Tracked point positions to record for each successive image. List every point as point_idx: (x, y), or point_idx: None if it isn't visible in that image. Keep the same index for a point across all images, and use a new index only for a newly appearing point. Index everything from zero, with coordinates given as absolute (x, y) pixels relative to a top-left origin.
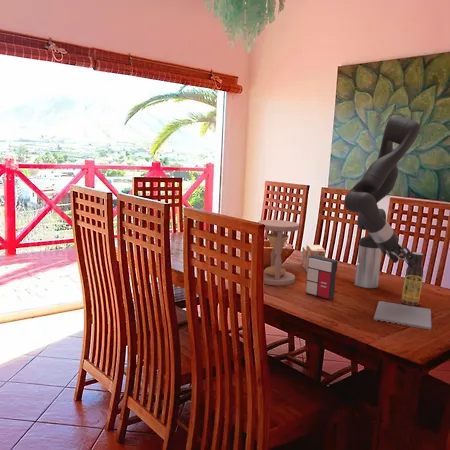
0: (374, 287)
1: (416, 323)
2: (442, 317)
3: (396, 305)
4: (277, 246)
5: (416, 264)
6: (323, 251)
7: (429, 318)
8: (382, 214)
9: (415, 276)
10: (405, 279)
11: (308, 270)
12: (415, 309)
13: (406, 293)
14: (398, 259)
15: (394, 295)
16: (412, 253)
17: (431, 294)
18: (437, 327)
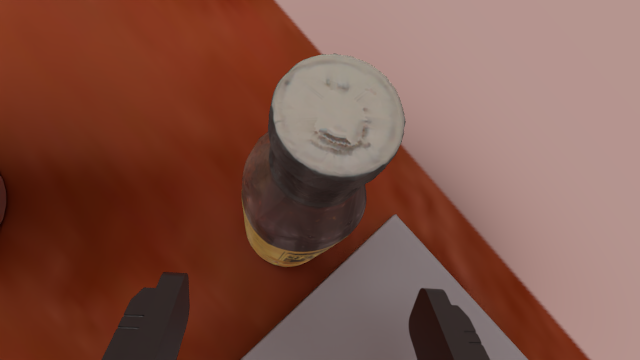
0: (3, 208)
1: None
2: (462, 229)
3: (305, 342)
4: None
5: (355, 191)
6: None
7: (488, 325)
8: None
9: (353, 228)
10: (277, 251)
11: None
12: (380, 291)
13: (298, 263)
14: (185, 278)
15: (154, 194)
16: (316, 173)
17: (219, 16)
18: (549, 354)
